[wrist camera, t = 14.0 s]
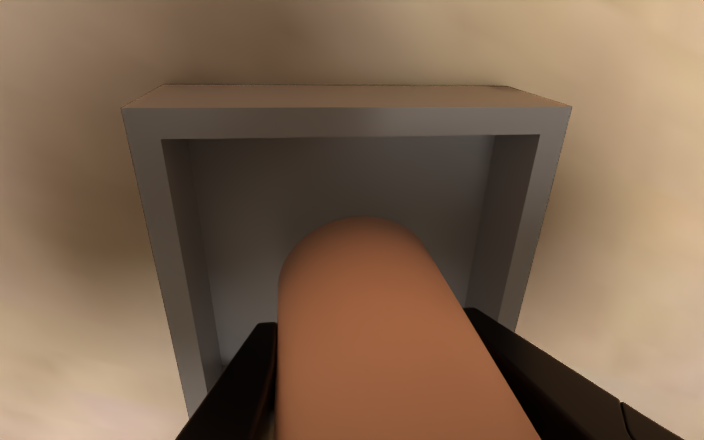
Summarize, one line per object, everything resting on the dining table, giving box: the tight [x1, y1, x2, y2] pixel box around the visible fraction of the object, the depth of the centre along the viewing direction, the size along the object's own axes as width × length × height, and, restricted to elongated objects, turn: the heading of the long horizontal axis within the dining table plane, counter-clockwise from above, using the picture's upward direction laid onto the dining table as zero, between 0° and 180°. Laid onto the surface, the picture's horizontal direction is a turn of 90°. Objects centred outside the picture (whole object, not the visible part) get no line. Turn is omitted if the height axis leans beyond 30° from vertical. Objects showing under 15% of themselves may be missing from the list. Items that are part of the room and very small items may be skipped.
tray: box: [121, 84, 572, 419], centre depth 12 cm, size 9×9×3 cm
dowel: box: [273, 216, 541, 440], centre depth 7 cm, size 4×4×7 cm
